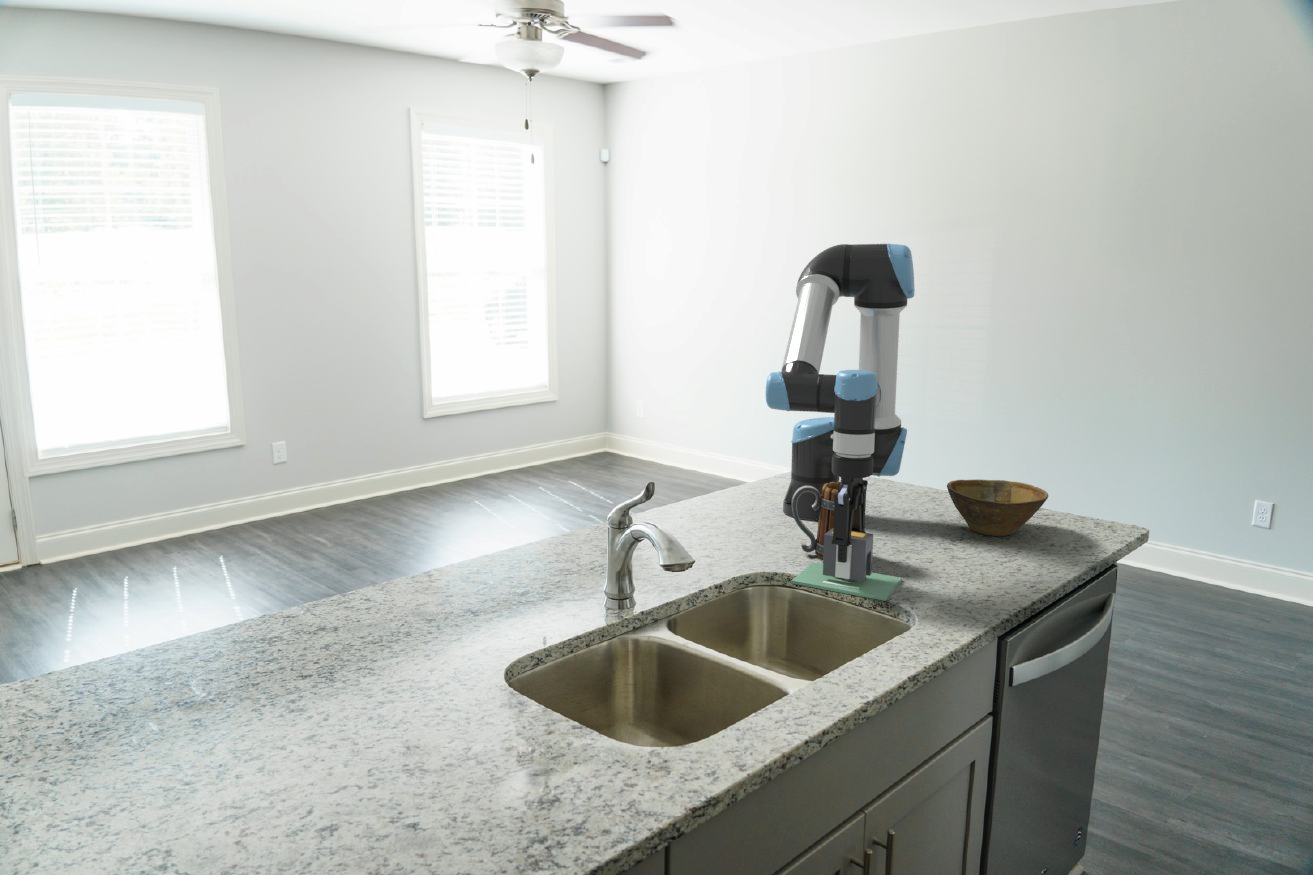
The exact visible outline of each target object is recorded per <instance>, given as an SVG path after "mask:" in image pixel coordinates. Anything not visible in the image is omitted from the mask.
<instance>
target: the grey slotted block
mask: <svg viewBox="0 0 1313 875" xmlns="http://www.w3.org/2000/svg"><path fill="white" fill-rule="evenodd" d="M832 541H833V528H832V529H831V530H829V531H828V532H827V533H826V534H824V556H823V559H822V564H823V575H826V576H832V577H835V569H836V546H837V544H832ZM850 545H852V553H851V574H850V579H849V580H855V581H861V582H865V581H866V575H868V576H870V575H871V574H872V573H873V572H872V571H873V568H872V567H873V553H874V552H873V550H874V533H868V532H866V533H864V532H857V531H852V532H851V540H850ZM838 578H839V577H838ZM844 579H845V578H844Z"/></svg>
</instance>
